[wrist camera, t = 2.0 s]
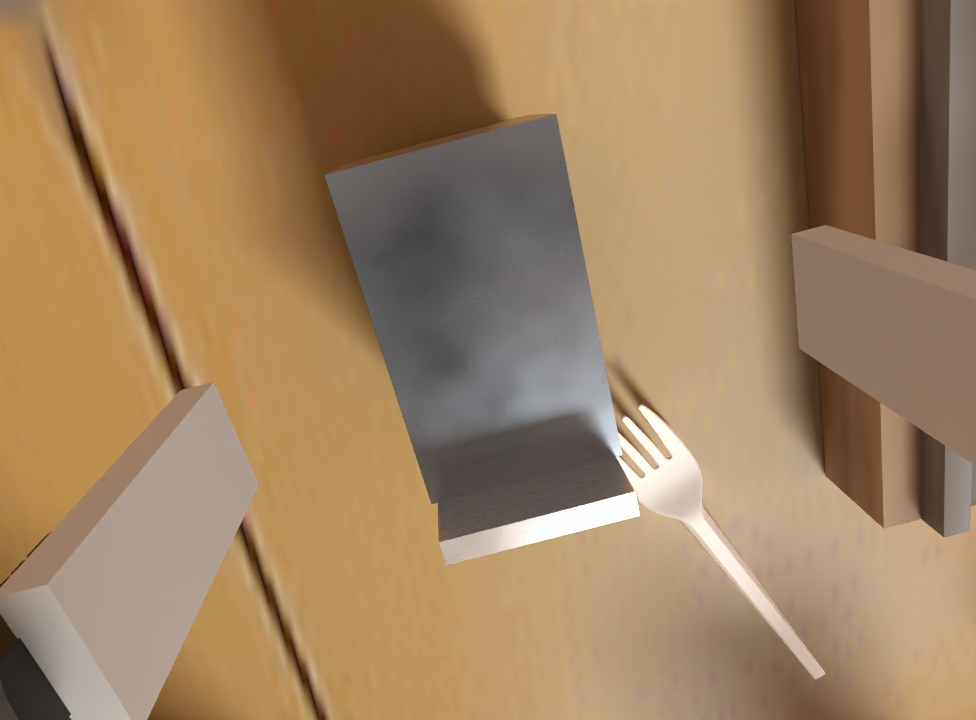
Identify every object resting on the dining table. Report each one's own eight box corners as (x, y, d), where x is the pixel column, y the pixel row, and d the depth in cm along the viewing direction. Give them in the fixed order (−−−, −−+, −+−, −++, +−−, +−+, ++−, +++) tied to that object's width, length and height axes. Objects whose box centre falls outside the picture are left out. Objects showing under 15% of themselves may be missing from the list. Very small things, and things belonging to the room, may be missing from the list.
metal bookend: (436, 425, 27) (439, 566, 18) (354, 158, 23) (310, 182, 14) (578, 389, 27) (646, 513, 18) (520, 115, 23) (572, 113, 14)
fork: (786, 681, 34) (805, 712, 33) (573, 423, 28) (583, 445, 26) (840, 649, 34) (862, 679, 32) (636, 378, 27) (651, 397, 25)
